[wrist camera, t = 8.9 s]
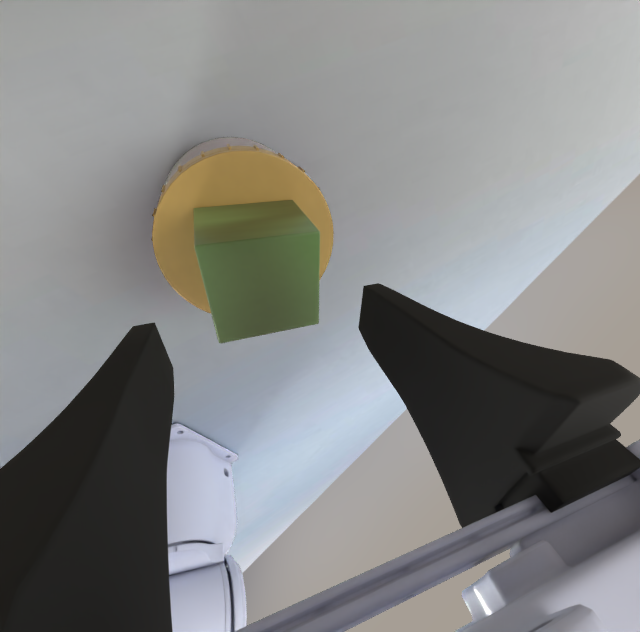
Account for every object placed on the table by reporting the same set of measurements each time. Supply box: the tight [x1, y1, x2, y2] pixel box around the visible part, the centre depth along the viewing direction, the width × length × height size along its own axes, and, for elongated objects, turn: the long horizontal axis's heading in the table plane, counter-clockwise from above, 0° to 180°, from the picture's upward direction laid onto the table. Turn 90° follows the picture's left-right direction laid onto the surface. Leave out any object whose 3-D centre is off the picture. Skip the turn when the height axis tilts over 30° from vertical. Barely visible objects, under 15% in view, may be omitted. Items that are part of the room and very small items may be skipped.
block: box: [193, 200, 320, 343], centre depth 13 cm, size 4×4×4 cm
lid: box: [152, 144, 333, 313], centre depth 15 cm, size 9×9×1 cm
